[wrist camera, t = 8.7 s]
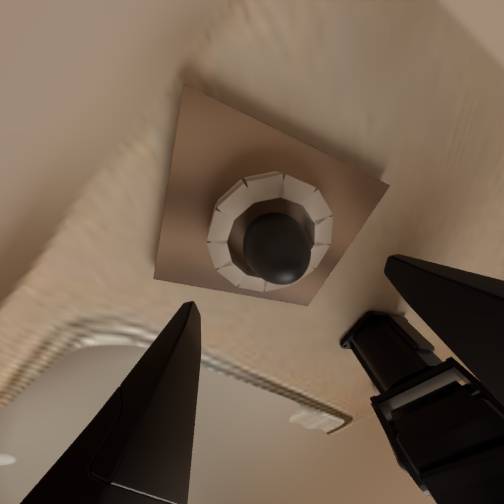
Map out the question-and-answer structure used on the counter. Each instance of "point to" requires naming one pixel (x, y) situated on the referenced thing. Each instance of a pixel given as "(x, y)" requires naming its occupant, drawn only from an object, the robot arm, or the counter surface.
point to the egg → (277, 248)
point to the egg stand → (252, 201)
